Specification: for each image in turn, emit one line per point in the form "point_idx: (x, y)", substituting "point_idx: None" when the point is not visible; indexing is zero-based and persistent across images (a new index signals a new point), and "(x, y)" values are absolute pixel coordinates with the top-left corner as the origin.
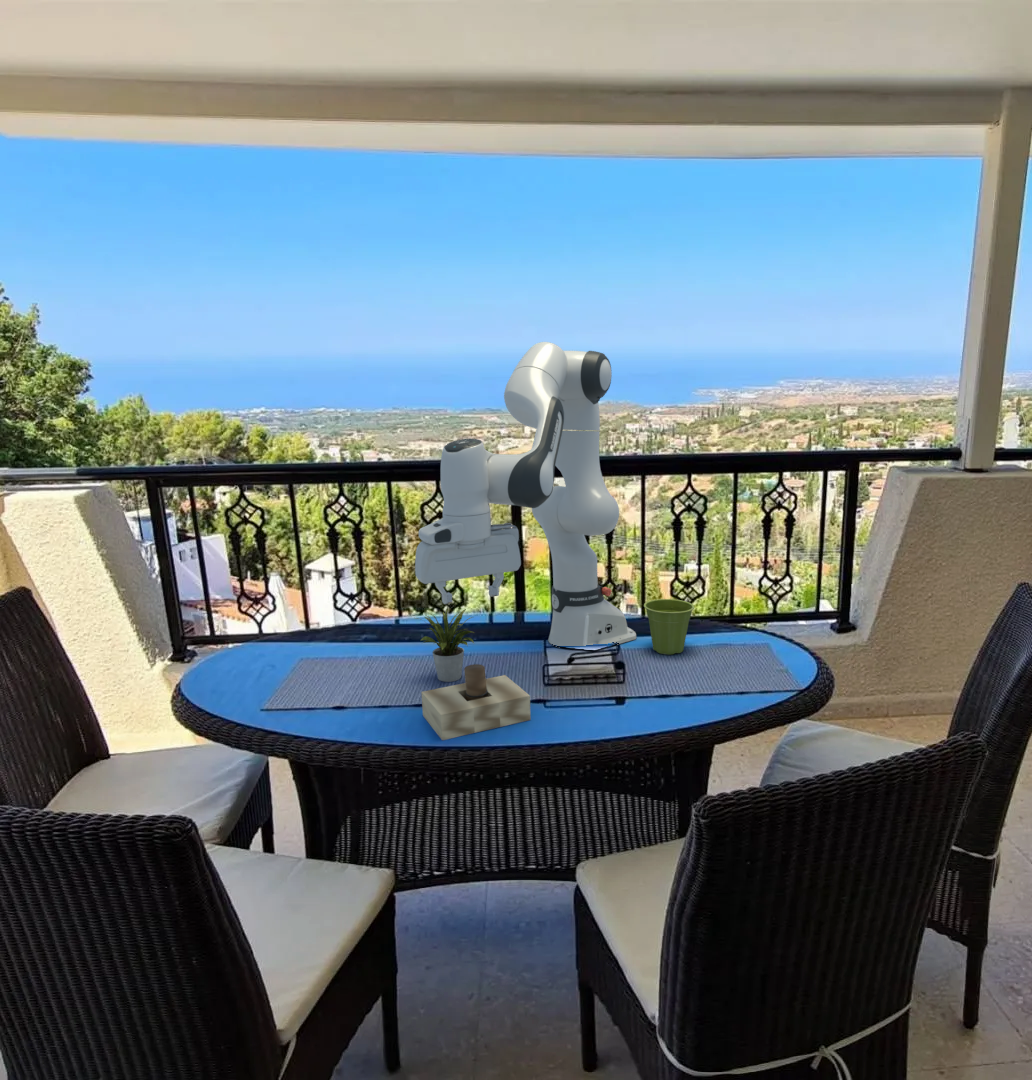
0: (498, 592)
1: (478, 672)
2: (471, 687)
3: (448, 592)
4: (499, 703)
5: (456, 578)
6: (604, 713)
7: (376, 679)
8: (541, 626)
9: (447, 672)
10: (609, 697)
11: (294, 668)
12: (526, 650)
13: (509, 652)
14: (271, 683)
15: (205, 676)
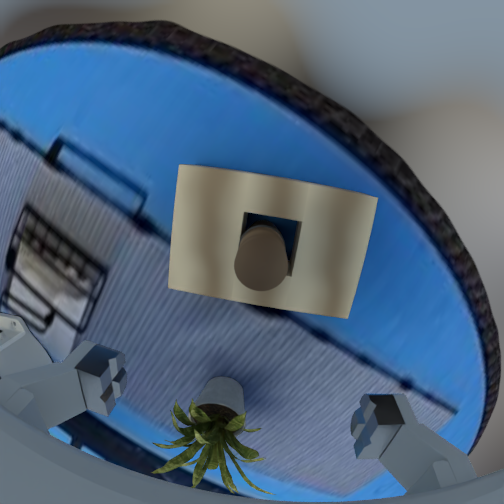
0: (79, 346)
1: (265, 239)
2: (281, 241)
3: (360, 458)
4: (249, 173)
5: (393, 501)
6: (91, 122)
7: (316, 434)
8: None
9: (233, 389)
10: (58, 169)
11: (366, 483)
12: None
13: None
14: None
15: None
